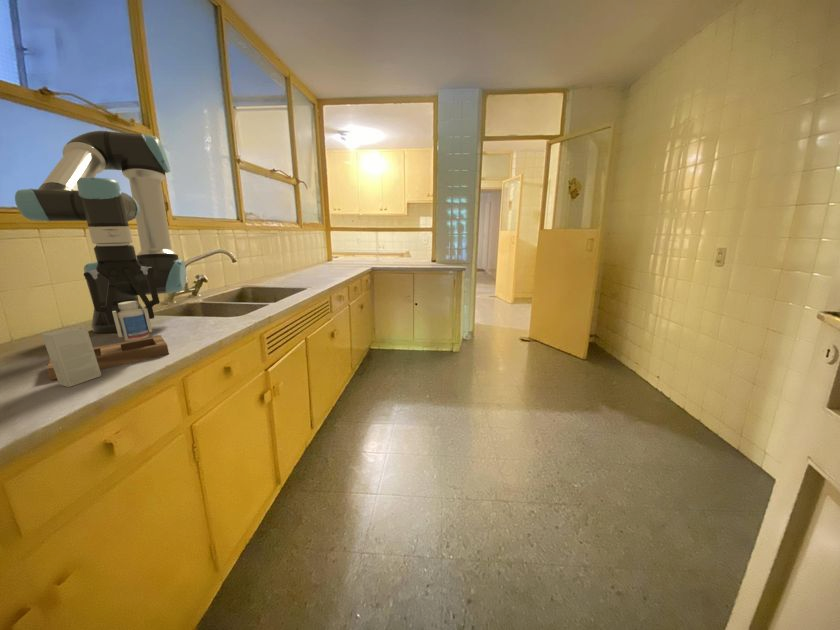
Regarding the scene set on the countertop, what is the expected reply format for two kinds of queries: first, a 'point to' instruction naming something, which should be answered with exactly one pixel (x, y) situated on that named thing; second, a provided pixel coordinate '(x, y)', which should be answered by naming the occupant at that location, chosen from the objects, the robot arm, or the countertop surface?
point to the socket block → (125, 352)
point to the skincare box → (72, 355)
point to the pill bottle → (132, 321)
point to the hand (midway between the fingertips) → (135, 333)
